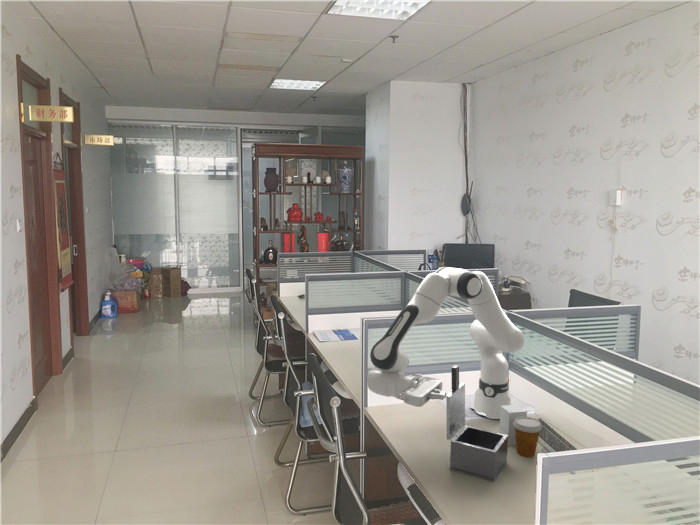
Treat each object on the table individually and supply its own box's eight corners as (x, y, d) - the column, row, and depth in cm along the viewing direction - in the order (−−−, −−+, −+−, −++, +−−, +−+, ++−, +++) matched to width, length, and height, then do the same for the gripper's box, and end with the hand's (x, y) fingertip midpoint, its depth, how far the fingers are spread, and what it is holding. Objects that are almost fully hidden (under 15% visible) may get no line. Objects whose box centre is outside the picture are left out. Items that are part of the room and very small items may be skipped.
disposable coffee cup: (541, 451, 204) (543, 419, 203) (537, 462, 196) (539, 429, 194) (514, 445, 209) (516, 414, 207) (509, 456, 200) (511, 423, 199)
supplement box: (525, 444, 210) (527, 411, 208) (507, 445, 208) (509, 412, 207) (516, 435, 217) (518, 404, 215) (498, 436, 215) (500, 405, 214)
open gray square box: (464, 451, 203) (465, 425, 201) (506, 462, 195) (508, 435, 194) (449, 469, 190) (451, 441, 189) (493, 481, 182) (495, 452, 181)
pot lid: (465, 424, 201) (459, 423, 203) (464, 361, 199) (458, 360, 200) (450, 440, 189) (443, 438, 190) (449, 372, 186) (443, 372, 187)
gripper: (396, 388, 194) (433, 397, 187) (420, 372, 211) (455, 379, 204) (395, 406, 195) (433, 415, 188) (419, 388, 212) (454, 396, 205)
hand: (445, 396), depth 196 cm, fingers closed
